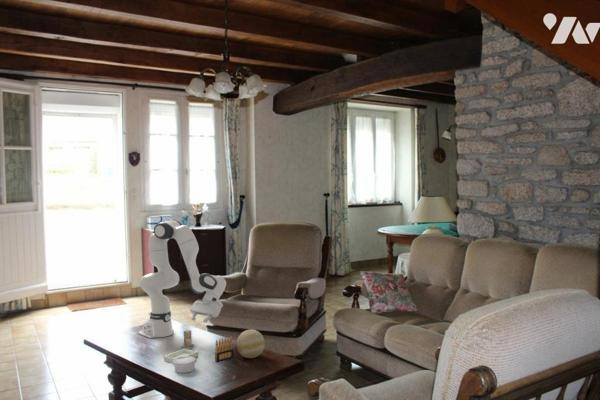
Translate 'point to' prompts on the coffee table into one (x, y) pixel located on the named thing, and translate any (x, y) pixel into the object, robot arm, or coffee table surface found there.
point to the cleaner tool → (187, 340)
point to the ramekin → (184, 364)
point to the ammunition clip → (224, 350)
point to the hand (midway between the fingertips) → (198, 320)
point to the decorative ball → (250, 343)
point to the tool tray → (180, 354)
